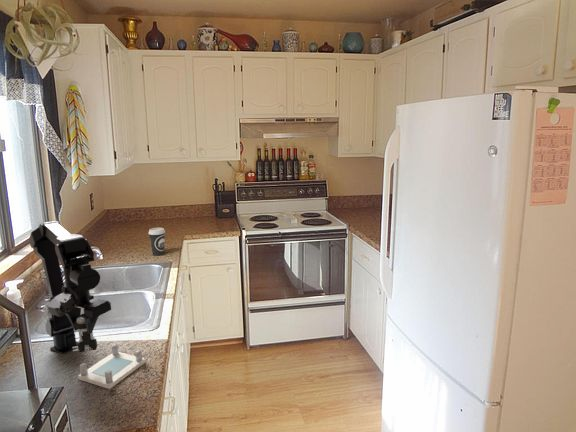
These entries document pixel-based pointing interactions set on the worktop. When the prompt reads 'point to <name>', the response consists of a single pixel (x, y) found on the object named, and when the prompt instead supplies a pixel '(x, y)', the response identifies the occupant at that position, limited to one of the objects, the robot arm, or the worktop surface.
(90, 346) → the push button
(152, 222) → the worktop surface
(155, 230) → the coffee cup
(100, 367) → the board
